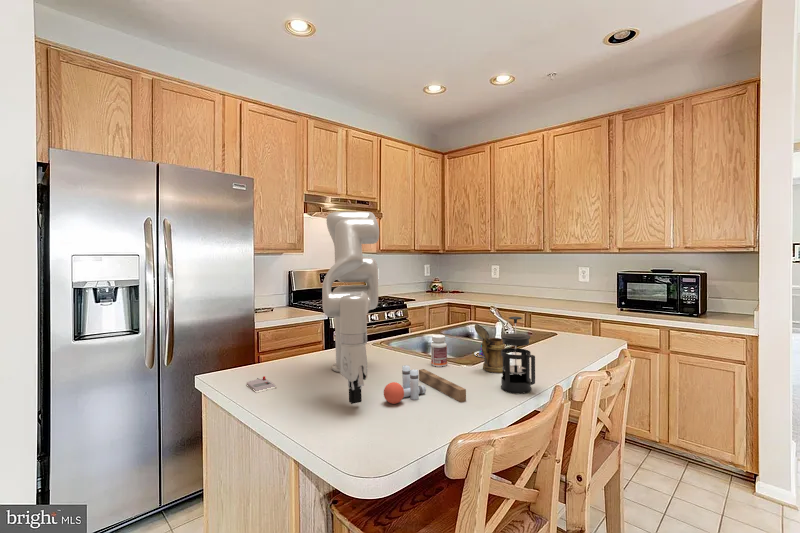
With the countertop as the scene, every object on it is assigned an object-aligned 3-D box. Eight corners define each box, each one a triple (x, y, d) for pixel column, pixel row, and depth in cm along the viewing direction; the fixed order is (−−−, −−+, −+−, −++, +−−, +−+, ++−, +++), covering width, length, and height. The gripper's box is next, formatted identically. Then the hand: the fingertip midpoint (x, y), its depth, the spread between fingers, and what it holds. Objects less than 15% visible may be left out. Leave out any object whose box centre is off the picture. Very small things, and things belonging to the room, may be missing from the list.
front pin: (397, 388, 124) (421, 383, 128) (397, 396, 124) (422, 391, 128) (401, 391, 122) (426, 386, 125) (401, 399, 122) (426, 394, 125)
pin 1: (401, 392, 127) (400, 366, 127) (408, 391, 128) (407, 364, 128) (405, 395, 125) (404, 368, 125) (412, 393, 126) (411, 366, 126)
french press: (493, 388, 130) (492, 316, 129) (510, 381, 136) (510, 313, 135) (524, 397, 121) (524, 321, 120) (542, 390, 127) (541, 317, 126)
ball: (401, 392, 123) (382, 398, 122) (399, 375, 121) (379, 381, 120) (408, 404, 118) (388, 410, 116) (405, 387, 116) (385, 393, 114)
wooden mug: (468, 370, 149) (467, 322, 149) (495, 364, 156) (494, 318, 156) (485, 376, 142) (484, 325, 141) (512, 370, 149) (512, 321, 148)
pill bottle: (450, 365, 157) (450, 336, 156) (437, 368, 153) (437, 338, 153) (440, 361, 162) (439, 333, 161) (428, 364, 158) (427, 335, 158)
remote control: (258, 396, 128) (258, 387, 128) (242, 384, 141) (242, 375, 141) (278, 391, 133) (278, 382, 132) (261, 380, 145) (261, 372, 145)
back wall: (419, 379, 140) (418, 369, 139) (424, 379, 140) (423, 369, 140) (460, 402, 118) (460, 390, 118) (466, 401, 119) (465, 389, 119)
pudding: (509, 356, 170) (509, 344, 169) (488, 361, 163) (488, 348, 163) (488, 350, 180) (488, 339, 179) (468, 355, 173) (467, 342, 173)
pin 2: (409, 398, 123) (408, 370, 122) (416, 396, 124) (415, 368, 123) (413, 400, 120) (412, 372, 120) (420, 399, 122) (419, 370, 121)
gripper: (332, 335, 120) (334, 396, 121) (350, 345, 107) (352, 413, 108) (356, 332, 124) (357, 392, 124) (376, 341, 110) (378, 408, 111)
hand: (355, 402), depth 116 cm, fingers closed
